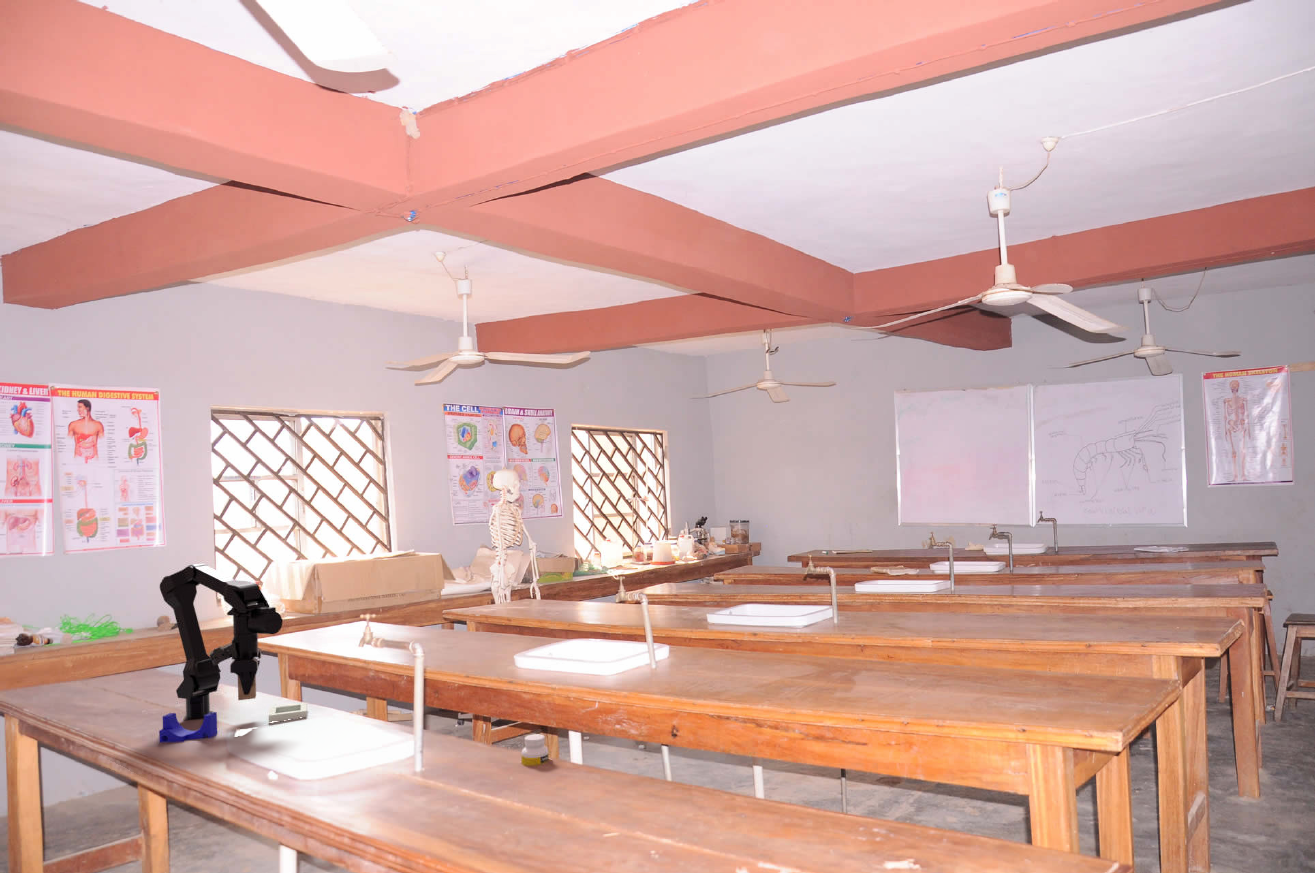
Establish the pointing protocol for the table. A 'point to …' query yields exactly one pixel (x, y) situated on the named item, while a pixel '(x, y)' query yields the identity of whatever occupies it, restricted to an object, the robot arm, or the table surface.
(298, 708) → the frame
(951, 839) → the table surface
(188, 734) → the cable clip
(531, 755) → the supplement bottle
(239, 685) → the walnut peg block
